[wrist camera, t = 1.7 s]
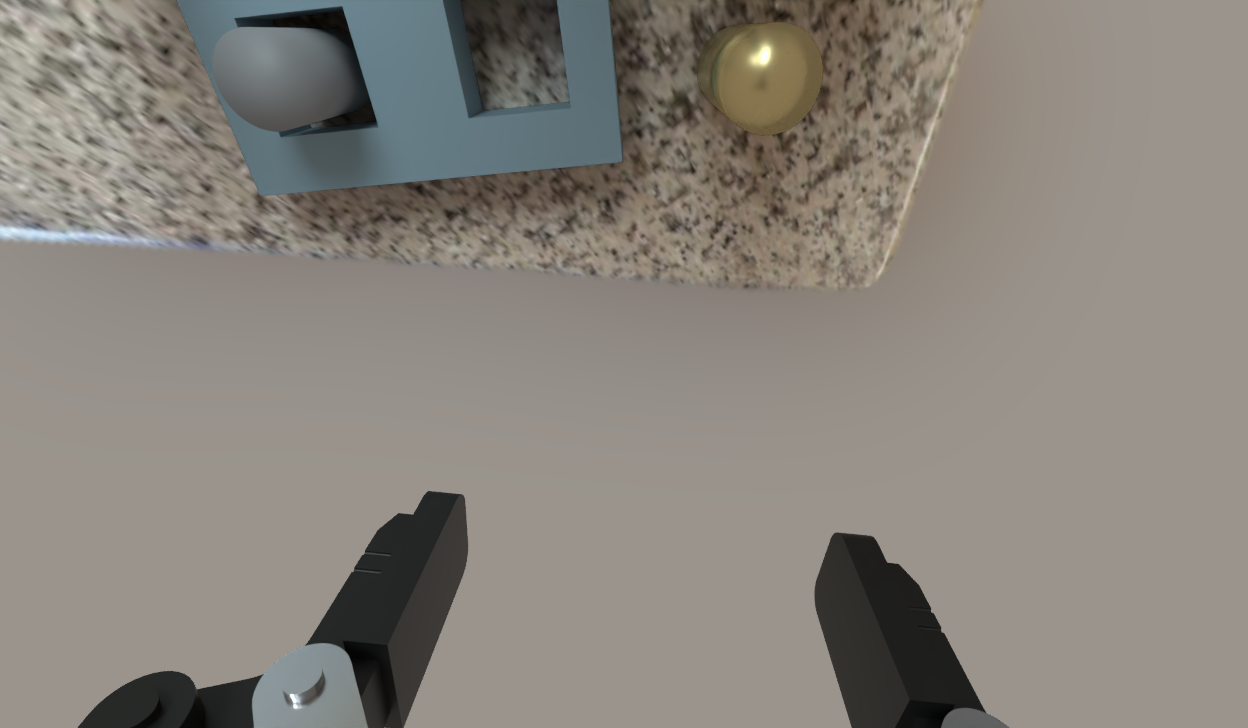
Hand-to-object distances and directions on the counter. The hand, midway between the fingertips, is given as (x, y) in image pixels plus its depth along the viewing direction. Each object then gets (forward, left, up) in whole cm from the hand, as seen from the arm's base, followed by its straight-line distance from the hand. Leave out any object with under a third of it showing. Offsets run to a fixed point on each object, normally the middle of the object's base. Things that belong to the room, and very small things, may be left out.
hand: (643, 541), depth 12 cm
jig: (-9, -11, -29) cm, 32 cm away
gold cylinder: (-7, +7, -29) cm, 30 cm away
